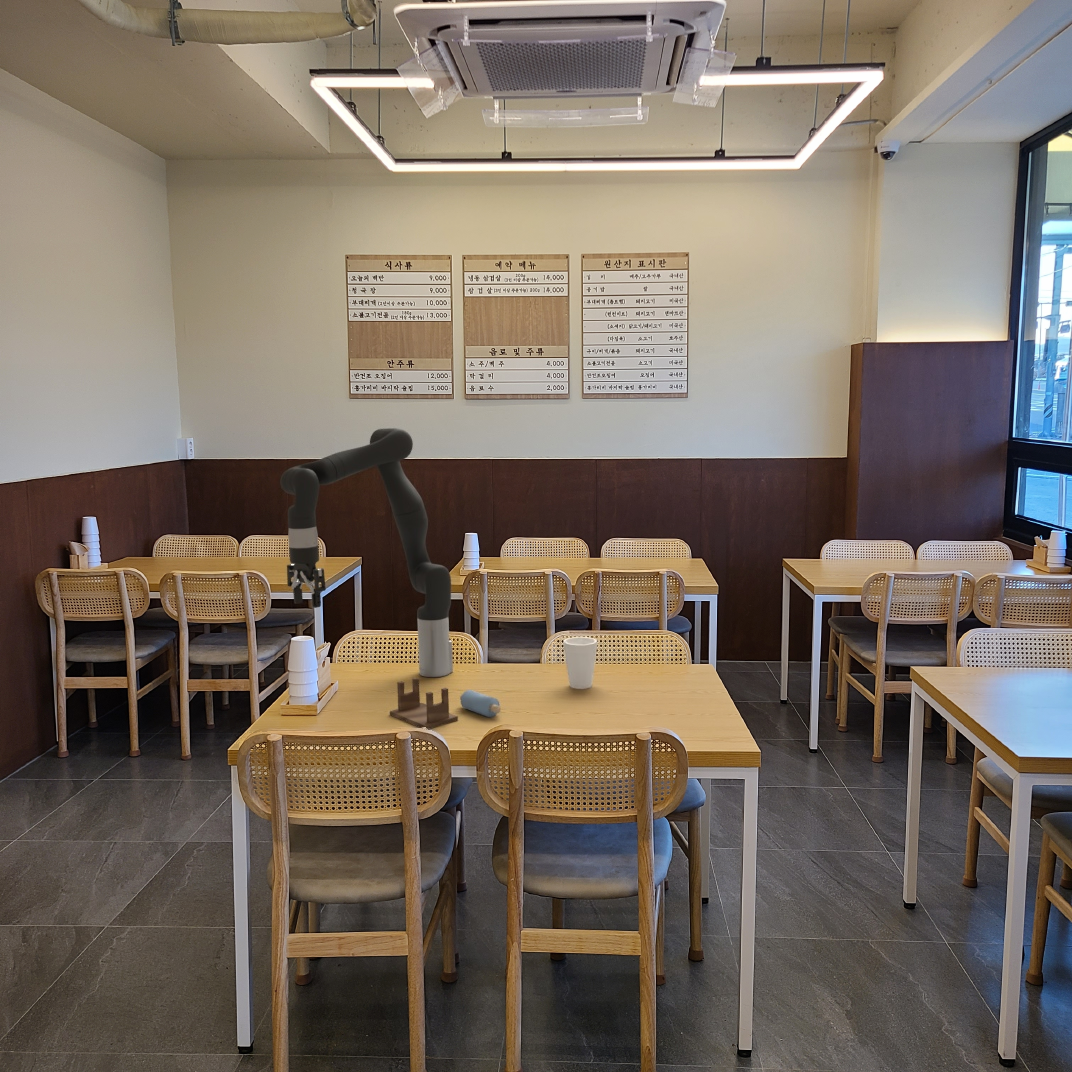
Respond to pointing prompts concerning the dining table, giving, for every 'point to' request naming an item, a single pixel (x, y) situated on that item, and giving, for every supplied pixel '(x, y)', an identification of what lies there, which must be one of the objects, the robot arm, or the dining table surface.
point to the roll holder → (422, 707)
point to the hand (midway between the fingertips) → (307, 605)
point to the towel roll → (480, 703)
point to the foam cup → (580, 661)
